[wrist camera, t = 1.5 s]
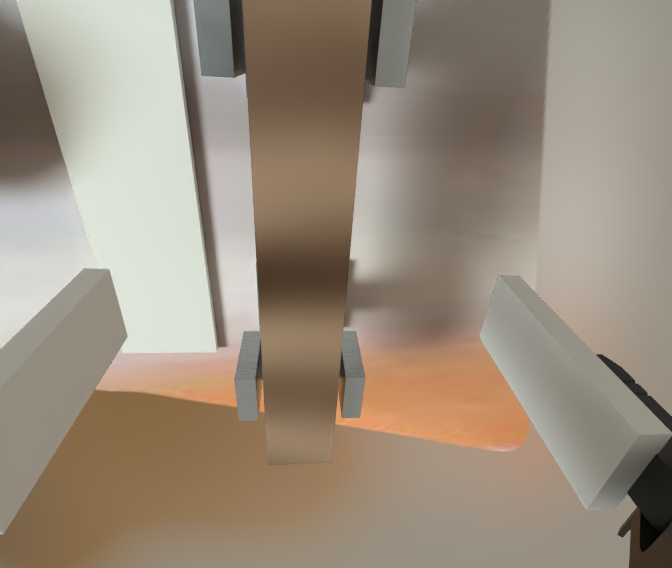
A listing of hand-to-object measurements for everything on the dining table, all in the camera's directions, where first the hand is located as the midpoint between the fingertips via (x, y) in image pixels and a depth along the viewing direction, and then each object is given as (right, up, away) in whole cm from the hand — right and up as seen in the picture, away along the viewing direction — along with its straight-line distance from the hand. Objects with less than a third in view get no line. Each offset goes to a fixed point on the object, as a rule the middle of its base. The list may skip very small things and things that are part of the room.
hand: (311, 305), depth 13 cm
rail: (-1, +3, +5) cm, 6 cm away
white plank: (-11, +7, +10) cm, 16 cm away
